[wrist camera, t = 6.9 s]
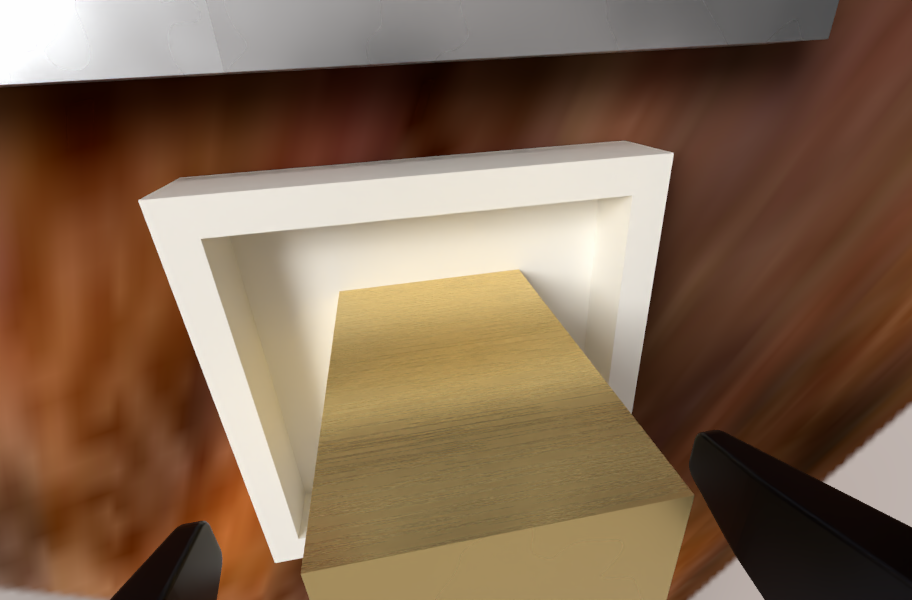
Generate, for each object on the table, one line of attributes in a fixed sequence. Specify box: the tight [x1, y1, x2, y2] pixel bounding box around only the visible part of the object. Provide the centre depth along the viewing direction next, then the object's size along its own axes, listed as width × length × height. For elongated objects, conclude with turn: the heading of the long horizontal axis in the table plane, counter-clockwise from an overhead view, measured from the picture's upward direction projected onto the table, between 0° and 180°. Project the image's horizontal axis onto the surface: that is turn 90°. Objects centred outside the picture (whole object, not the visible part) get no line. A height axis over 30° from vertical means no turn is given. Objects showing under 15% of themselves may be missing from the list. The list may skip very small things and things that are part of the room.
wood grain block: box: [301, 269, 694, 600], centre depth 9 cm, size 4×4×7 cm
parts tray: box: [138, 141, 674, 563], centre depth 12 cm, size 10×10×2 cm
